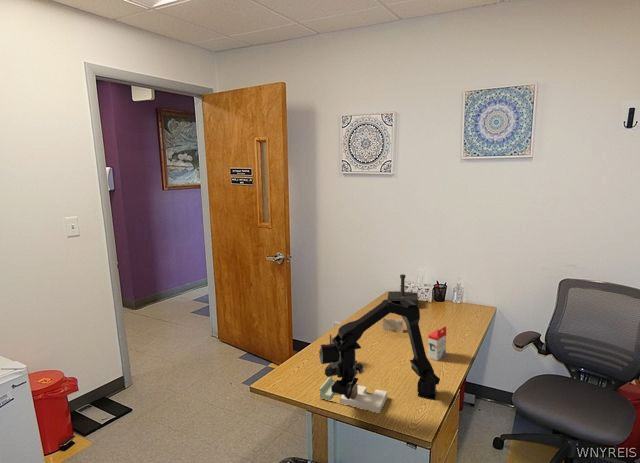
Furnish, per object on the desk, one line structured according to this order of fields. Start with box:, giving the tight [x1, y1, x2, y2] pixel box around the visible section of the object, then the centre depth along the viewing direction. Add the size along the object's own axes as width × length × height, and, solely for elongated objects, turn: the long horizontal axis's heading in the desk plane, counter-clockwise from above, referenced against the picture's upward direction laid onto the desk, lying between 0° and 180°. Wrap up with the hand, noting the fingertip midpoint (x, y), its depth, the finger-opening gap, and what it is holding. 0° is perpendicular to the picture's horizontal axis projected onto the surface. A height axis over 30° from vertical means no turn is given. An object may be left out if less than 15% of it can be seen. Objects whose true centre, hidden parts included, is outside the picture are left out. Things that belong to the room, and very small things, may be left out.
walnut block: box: [344, 383, 358, 399], centre depth 148 cm, size 4×4×4 cm
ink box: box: [427, 325, 447, 361], centre depth 181 cm, size 8×5×15 cm, turn 134°
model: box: [382, 317, 404, 333], centre depth 211 cm, size 3×11×8 cm, turn 84°
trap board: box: [319, 376, 388, 414], centre depth 150 cm, size 24×11×4 cm, turn 65°
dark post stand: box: [386, 274, 419, 307], centre depth 253 cm, size 19×17×20 cm
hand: (348, 398), depth 144 cm, fingers closed
